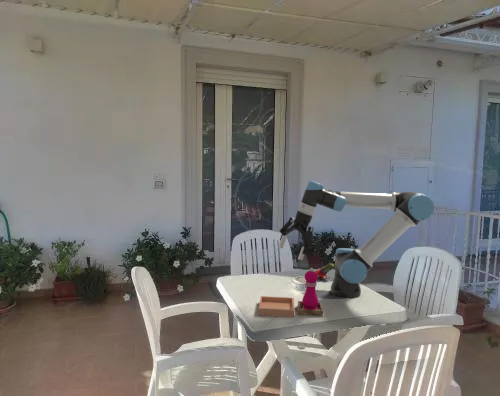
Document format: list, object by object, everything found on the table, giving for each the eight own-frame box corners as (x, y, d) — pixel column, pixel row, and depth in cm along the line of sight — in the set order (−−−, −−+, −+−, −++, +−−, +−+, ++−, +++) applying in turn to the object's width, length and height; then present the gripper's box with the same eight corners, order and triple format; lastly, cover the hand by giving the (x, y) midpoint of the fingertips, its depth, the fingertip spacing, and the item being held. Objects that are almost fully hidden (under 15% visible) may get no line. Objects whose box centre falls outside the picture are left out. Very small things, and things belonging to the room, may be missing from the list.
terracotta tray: (293, 303, 186) (293, 297, 186) (294, 317, 171) (294, 310, 171) (260, 302, 188) (260, 296, 187) (258, 315, 172) (258, 308, 172)
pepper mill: (307, 306, 183) (308, 264, 181) (321, 310, 178) (322, 267, 176) (298, 311, 178) (300, 267, 176) (312, 315, 173) (314, 271, 171)
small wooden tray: (320, 307, 183) (320, 302, 183) (322, 316, 172) (323, 310, 172) (297, 306, 184) (297, 300, 183) (298, 315, 173) (298, 309, 173)
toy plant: (326, 286, 228) (338, 274, 221) (311, 279, 226) (323, 267, 219) (325, 275, 234) (337, 263, 228) (311, 269, 232) (322, 257, 226)
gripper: (282, 203, 195) (267, 242, 197) (320, 221, 177) (303, 264, 179) (291, 205, 200) (277, 243, 202) (329, 223, 182) (313, 265, 185)
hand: (289, 253), depth 191 cm, fingers open, 13 cm apart
